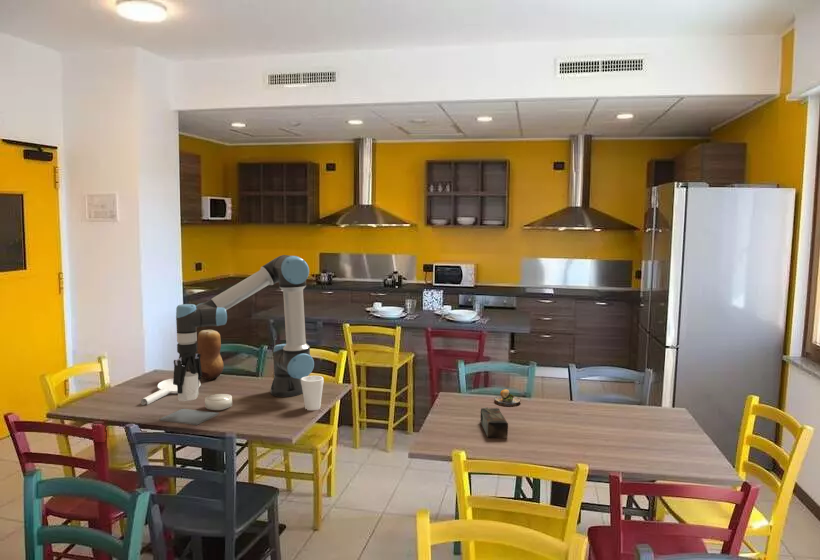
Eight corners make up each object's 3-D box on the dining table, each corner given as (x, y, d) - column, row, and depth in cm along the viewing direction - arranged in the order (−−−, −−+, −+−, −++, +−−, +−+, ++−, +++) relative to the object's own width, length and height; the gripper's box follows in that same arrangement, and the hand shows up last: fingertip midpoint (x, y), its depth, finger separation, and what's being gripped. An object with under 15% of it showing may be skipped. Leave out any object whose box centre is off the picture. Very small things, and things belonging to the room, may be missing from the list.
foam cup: (328, 408, 255) (327, 378, 254) (310, 413, 248) (310, 382, 247) (314, 403, 261) (314, 374, 260) (297, 408, 255) (296, 378, 253)
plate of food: (520, 407, 257) (521, 391, 256) (493, 406, 259) (493, 389, 258) (521, 399, 268) (521, 383, 267) (494, 398, 271) (495, 382, 270)
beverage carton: (499, 421, 238) (499, 406, 238) (508, 439, 219) (508, 422, 219) (479, 422, 238) (480, 406, 237) (487, 439, 219) (487, 422, 219)
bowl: (237, 405, 258) (237, 394, 258) (222, 413, 248) (221, 401, 247) (215, 403, 261) (215, 392, 261) (199, 410, 251) (199, 399, 251)
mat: (218, 414, 246) (218, 412, 246) (197, 425, 233) (197, 423, 233) (182, 410, 252) (182, 408, 252) (159, 420, 239) (159, 418, 239)
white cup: (191, 402, 237) (191, 377, 236) (174, 400, 239) (173, 376, 238) (202, 396, 245) (201, 372, 244) (185, 395, 246) (184, 371, 245)
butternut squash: (228, 375, 309) (227, 328, 306) (217, 382, 295) (215, 332, 293) (202, 374, 310) (201, 327, 308) (190, 381, 297) (189, 332, 295)
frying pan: (163, 411, 257) (163, 401, 256) (125, 405, 261) (125, 395, 260) (208, 386, 290) (208, 377, 290) (173, 381, 295) (173, 372, 294)
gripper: (195, 337, 250) (197, 390, 253) (161, 346, 231) (163, 404, 233) (210, 338, 248) (212, 392, 250) (177, 348, 229) (179, 406, 231)
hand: (188, 397), depth 242 cm, fingers closed on white cup, 8 cm apart
